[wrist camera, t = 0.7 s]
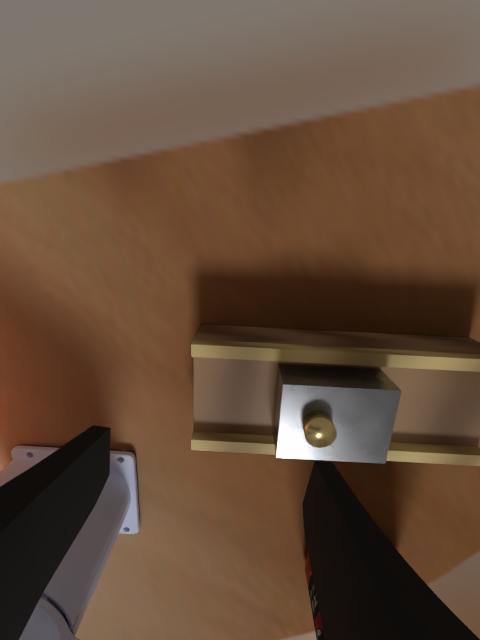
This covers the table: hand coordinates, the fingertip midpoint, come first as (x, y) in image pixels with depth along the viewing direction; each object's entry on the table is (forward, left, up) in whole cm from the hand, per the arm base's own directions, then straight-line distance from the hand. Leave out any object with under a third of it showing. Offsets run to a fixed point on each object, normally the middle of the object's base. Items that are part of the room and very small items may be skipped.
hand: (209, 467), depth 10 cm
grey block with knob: (+6, -2, -8) cm, 10 cm away
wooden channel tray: (+7, -2, -11) cm, 13 cm away
